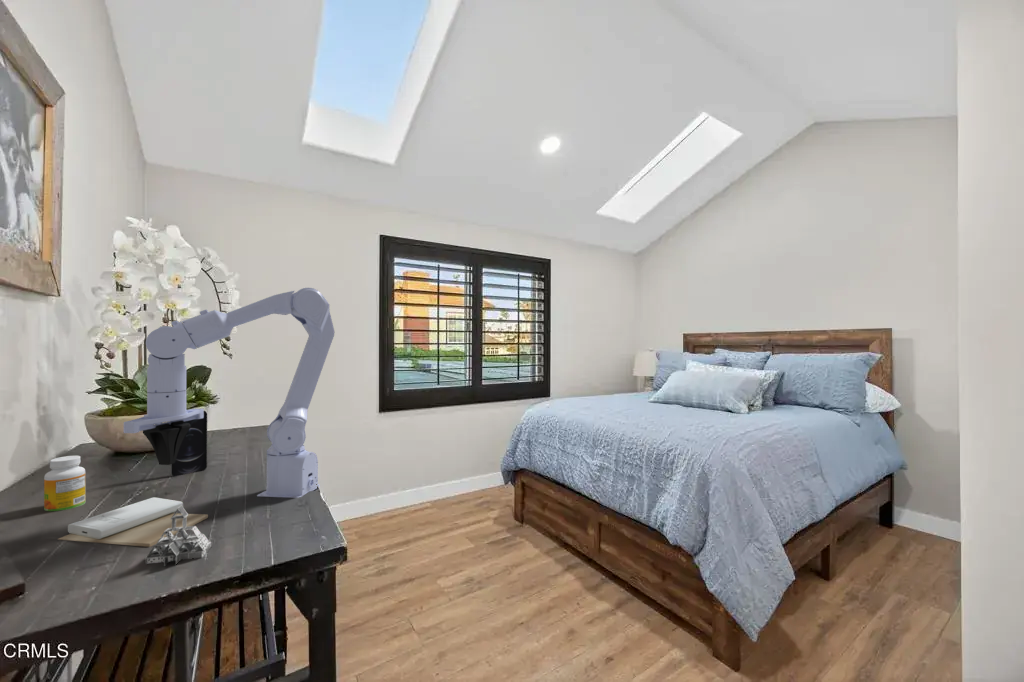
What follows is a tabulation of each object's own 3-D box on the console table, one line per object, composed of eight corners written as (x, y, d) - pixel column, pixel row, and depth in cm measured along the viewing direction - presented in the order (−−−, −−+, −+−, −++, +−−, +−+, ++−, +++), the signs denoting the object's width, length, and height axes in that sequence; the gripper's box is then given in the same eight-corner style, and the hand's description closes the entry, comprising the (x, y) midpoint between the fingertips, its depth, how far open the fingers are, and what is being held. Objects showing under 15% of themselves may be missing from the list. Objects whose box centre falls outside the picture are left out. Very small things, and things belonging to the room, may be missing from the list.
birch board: (207, 517, 76) (207, 514, 76) (150, 547, 65) (150, 543, 65) (127, 514, 78) (127, 511, 78) (57, 542, 67) (57, 538, 67)
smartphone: (170, 478, 98) (170, 414, 98) (169, 478, 98) (169, 413, 98) (207, 470, 104) (207, 409, 104) (205, 469, 105) (205, 409, 105)
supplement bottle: (44, 509, 80) (44, 458, 80) (84, 501, 84) (84, 453, 84) (43, 517, 76) (43, 464, 76) (86, 509, 80) (86, 458, 80)
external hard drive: (183, 510, 78) (101, 540, 66) (152, 505, 81) (67, 533, 69) (183, 501, 78) (101, 529, 66) (152, 496, 81) (67, 523, 69)
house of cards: (107, 588, 55) (108, 529, 55) (143, 556, 63) (144, 505, 63) (189, 577, 57) (189, 521, 58) (213, 548, 66) (214, 498, 66)
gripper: (181, 386, 87) (181, 453, 87) (107, 396, 72) (107, 475, 72) (213, 387, 86) (213, 453, 86) (145, 396, 72) (144, 476, 72)
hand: (167, 463), depth 79 cm, fingers closed
